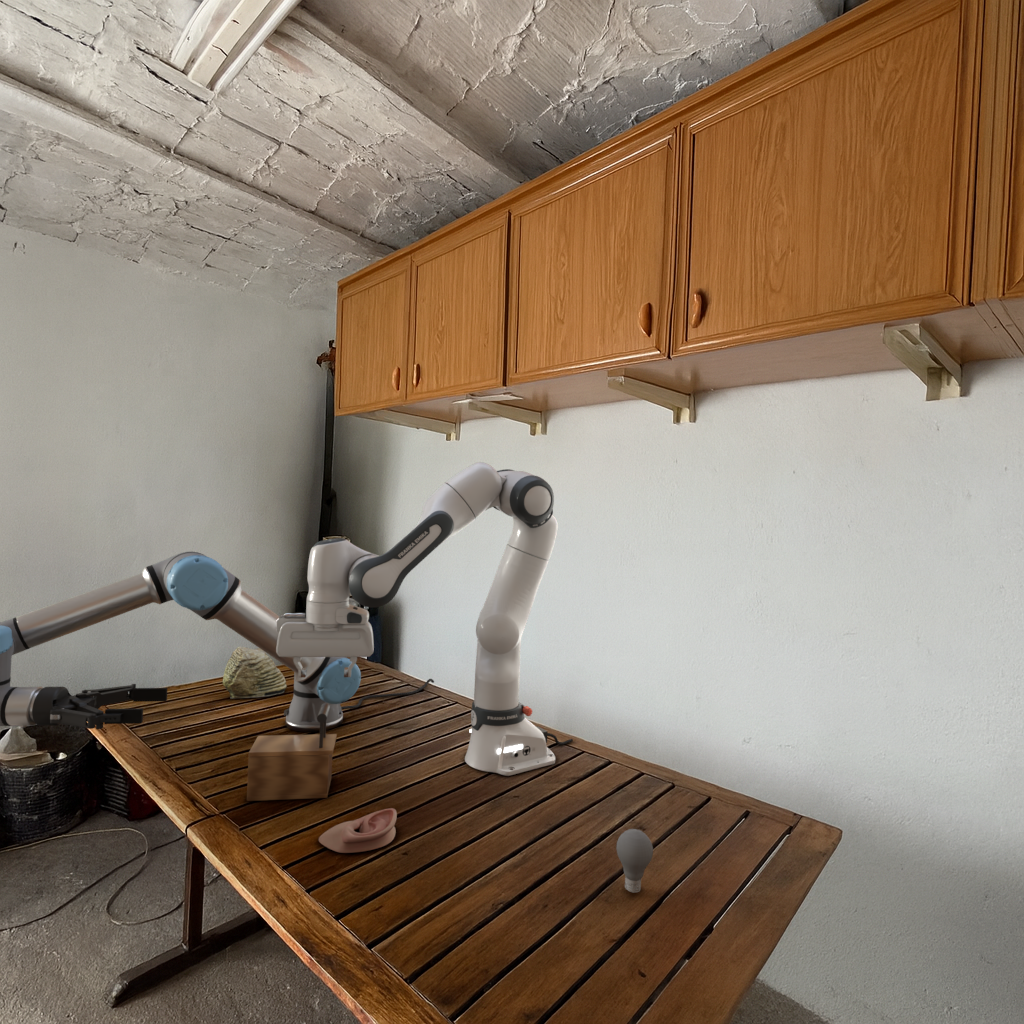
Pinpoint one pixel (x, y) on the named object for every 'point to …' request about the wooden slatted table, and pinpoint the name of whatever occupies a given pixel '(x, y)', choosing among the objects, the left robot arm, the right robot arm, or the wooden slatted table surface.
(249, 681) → the fossil
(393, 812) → the anatomical model
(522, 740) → the right robot arm
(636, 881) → the light bulb
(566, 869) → the wooden slatted table surface
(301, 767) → the chest
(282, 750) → the lid
